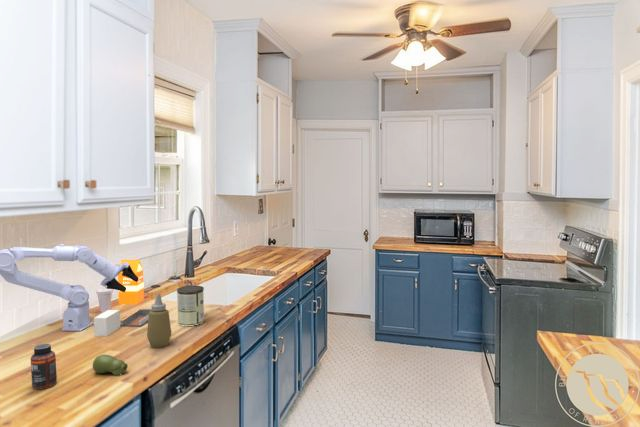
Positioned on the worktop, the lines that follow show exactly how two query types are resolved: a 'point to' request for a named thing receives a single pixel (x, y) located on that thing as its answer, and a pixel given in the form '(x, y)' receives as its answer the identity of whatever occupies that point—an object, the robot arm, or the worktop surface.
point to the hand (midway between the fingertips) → (131, 285)
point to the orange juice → (132, 284)
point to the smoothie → (104, 299)
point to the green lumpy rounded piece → (109, 365)
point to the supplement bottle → (43, 367)
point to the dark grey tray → (136, 318)
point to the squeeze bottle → (158, 324)
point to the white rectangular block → (106, 323)
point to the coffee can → (190, 305)
